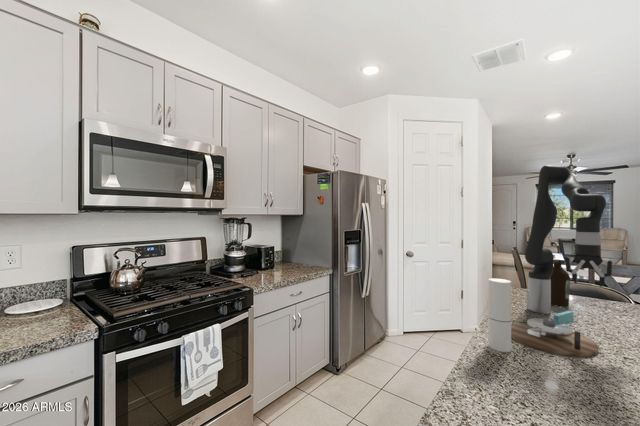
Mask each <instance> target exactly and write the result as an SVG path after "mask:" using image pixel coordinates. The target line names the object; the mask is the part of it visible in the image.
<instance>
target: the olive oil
mask: <svg viewBox="0 0 640 426" xmlns="http://www.w3.org/2000/svg"><path fill="white" fill-rule="evenodd" d="M570 284H571V277H570V274H569V272H567V271H566V269H564V268H563V267H562V260H561V259H553V273H552V275H551V304H552V305H551V306H554V305H557V306H556V307H560V306H568V307H569V306H570V287H571V286H570Z"/></svg>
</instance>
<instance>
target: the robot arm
mask: <svg viewBox="0 0 640 426" xmlns="http://www.w3.org/2000/svg"><path fill="white" fill-rule="evenodd" d="M537 182H538V183H537V185H538V186H537V196H536V201H535V207H534V212H533V217H532V225H531V228H530V229H531V230H530V234H529V239H528V240H527V241H528V242H527V245H526V247H525V248H526V249H525V252H524V258H525V260H526V262H527V264H529V265H531V266H533V268H532V269H531V270H529V271H528V290H526V309H527V310H529V311H530V312H534V313H537V314H548V315H549V314H551V313H552V305H551V275H552V273H553V266H554V254H553V252H552V250H551V248H548V247H544V243H545V240H546V238H547V236H549V234H550V233H551V231H552V230H553V229H554V227H555V225H556V221H557V216H558V209H557V206H556V204H555V203H554V202H553V199H552V198H551V195H550V191H549V189H550V188H549V187H550V185H561V187H560V188H561V189H560V190H561V193H562V194H563V195H564V196H565V197H566V198H567V199H568V202H569V206H570V208H571V209H572V210H573V211H576V212H589V213H588V215H587V216H583V217H579V218H577V219H576V220H575V237H574V238H575V241H574V243H575V246H574V247H575V249H574V251H575V254H574V255H575V256H573V257H572V256H571V257H570V256H566V257H565V271H566V272H567V273H571V281H572V282H573V283H574V284H578V271H579V270H580V269H581V268H582V269H589V270H595V271H596V273H598V275H599V281H598V282H599V287H601V288H602V287H603V286H605V284H606V281H605V280H606V279H605V278H606V277H611V276H612V272H613V261H612V259H609V260H607V259H606V260H605V259H602V238H601V233H600V232H601V219H602V218H603V215H604V214H603V213H604V211H605V208H606V204H607V201H606V197H605V196H604V195H602V194H601V193H589V190H588V189H587V188H586V187H585V186H583V185H582V184H581V183H580V182H578V180H577V179H576V177H575V175H574V174H573V172H572V171H571V170H570V169H569V167H567V166H564V165H547V164H546V165H543V166H542V167H541V169H540V170H539V175H538V181H537ZM573 261H574V262H575V263H576V264H577V265H576V266H575V267H574V269H572V266H571V263H573ZM602 263H603V264H604V266H606V272H604V271H603V270H602V268H601V267H600V265H601V264H602Z"/></svg>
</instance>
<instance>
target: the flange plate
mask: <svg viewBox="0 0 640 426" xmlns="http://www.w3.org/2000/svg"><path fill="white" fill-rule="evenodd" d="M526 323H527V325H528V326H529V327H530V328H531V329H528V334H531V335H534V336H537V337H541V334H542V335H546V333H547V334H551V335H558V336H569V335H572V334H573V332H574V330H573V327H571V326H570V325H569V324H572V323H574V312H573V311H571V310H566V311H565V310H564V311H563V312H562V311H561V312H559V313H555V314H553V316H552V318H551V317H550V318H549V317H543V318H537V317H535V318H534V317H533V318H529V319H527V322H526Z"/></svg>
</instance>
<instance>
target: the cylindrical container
mask: <svg viewBox="0 0 640 426" xmlns="http://www.w3.org/2000/svg"><path fill="white" fill-rule="evenodd" d="M511 324H512V281H511V280H509V279H505V278H493V277H492V278H488V346H489V348H490V349H492V350H495V351H498V352H501V353H502V352H503V353H508V352H509V353H510V352H511V351H512V338H511Z"/></svg>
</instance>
